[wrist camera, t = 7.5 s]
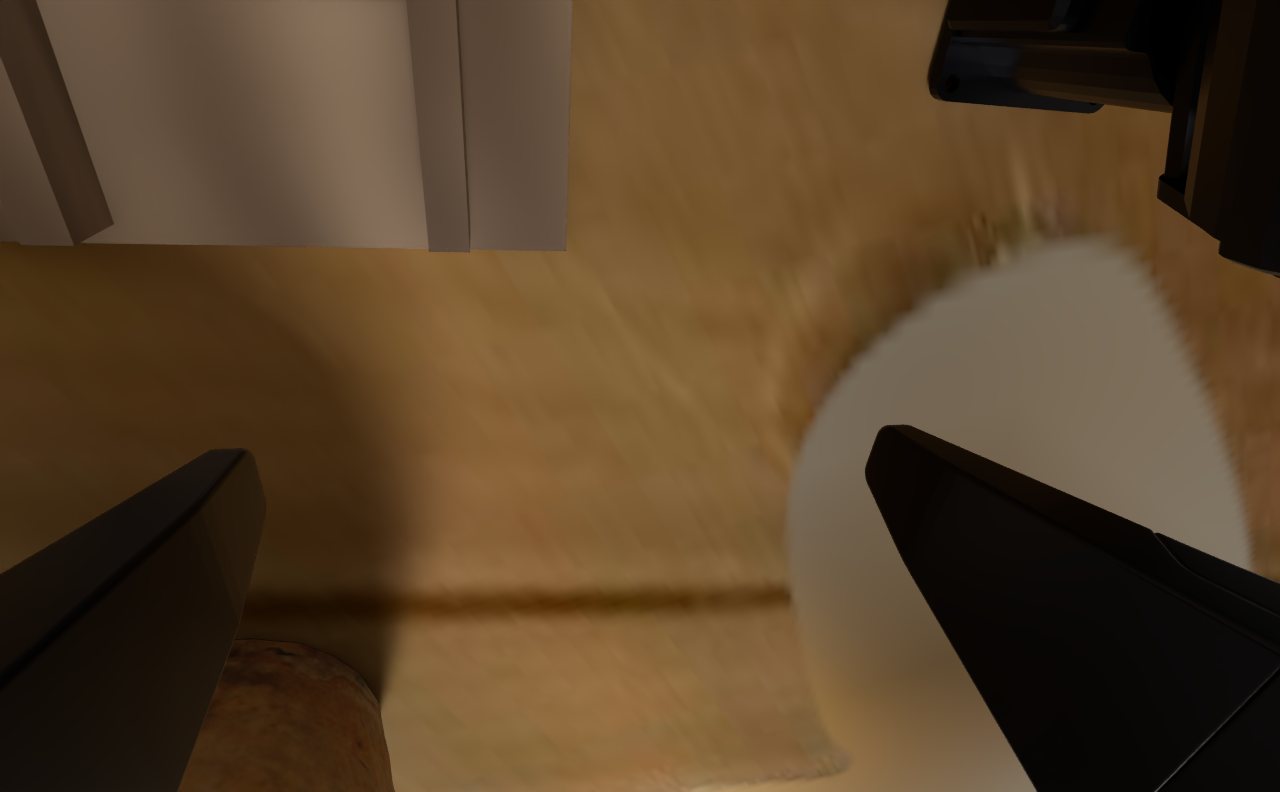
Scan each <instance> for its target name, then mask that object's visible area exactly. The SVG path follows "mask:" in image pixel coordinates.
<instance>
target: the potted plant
mask: <svg viewBox="0 0 1280 792" xmlns="http://www.w3.org/2000/svg"><path fill="white" fill-rule="evenodd" d="M178 792H395V790H394V787H393V782H392V774H391V766H390V758H389V753H388V749H387V744H386V740H385V736H384V730H383V725H382V719H381V713H380V708H379V703H378V701H377V700H376V698H375V696H374V695H373V693H372V692H371V690H370V689H369V687H368V686H367V684H366V683H365V681H364V680H363V678H362V677H361V675H360V674H359V673H358V672H356V671H354V670H353V669H351V668H350V667H348V666H347V665H345V664H344V663H342V662H341V661H339V660H337V659H336V658H334V657H333V656H331V655H330V654H327V653H324V652H321V651H318V650H316V649H313V648H310V647H307V646H304V645H302V644H298V643H288V642H277V641H267V640H257V639H244V640H234V642H233V645H232V648H231V650H230V653H229V656H228V658H227V661H226V664H225V666H224V669H223V672H222V674H221V677H220V680H219V682H218V685H217V688H216V690H215V693H214V696H213V698H212V701H211V704H210V706H209V709H208V712H207V715H206V717H205V720H204V723H203V725H202V728H201V731H200V733H199V736H198V739H197V741H196V744H195V747H194V749H193V752H192V755H191V757H190V760H189V763H188V765H187V768H186V771H185V773H184V776H183V779H182V781H181V784H180V787H179V789H178Z"/></svg>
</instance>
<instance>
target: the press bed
mask: <svg viewBox="0 0 1280 792" xmlns="http://www.w3.org/2000/svg"><path fill="white" fill-rule="evenodd" d="M571 31H572V0H0V242H19V243H20V245H39V246H75V245H77V244H79V243H110V244H170V245H230V246H291V247H351V248H411V249H429V252H470V249H472V250H532V251H566V230H567V190H568V150H569V110H570V70H571Z"/></svg>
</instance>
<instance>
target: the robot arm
mask: <svg viewBox="0 0 1280 792" xmlns="http://www.w3.org/2000/svg"><path fill="white" fill-rule="evenodd" d="M947 20H948V21H947V25H946V28H945V31H944V35H943V38H942V42H941V45H940V49H939V52H938V55H937V59H936V62H935V66H934V69H933V73H932V76H931V79H930V85H929V90H930V94H931V95H932V97H933V98H935V99H937V100H942V101H949V102H961V103H972V104H984V105H996V106H1007V107H1019V108H1031V109H1042V110H1054V111H1066V112H1078V113H1094V112H1096V111H1098V110H1099V109H1100V108H1101V107H1102V106H1103V105H1104V104H1106V105H1114V106H1121V107H1129V108H1136V109H1144V110H1151V111H1159V112H1167V113H1172V117H1171V125H1170V133H1169V141H1168V149H1167V157H1166V165H1165V173H1164V174H1162V175H1161V176H1160V177H1159V182H1158V191H1157V198H1158V199H1159V200H1161V201H1162V202H1164V203H1165V204H1167V205H1168V206H1169V207H1171V208H1172V209H1174V210H1175V211H1177V212H1178V213H1180V214H1181V215H1183V216H1184V217H1185V218H1187V219H1188V220H1190V221H1191V222H1193V223H1194V224H1196V225H1197V226H1199V227H1200V228H1202V229H1203V230H1204V231H1206V232H1207V233H1208V234H1209V235H1211V236H1212V237H1213V238H1215V239H1218V240H1219V241H1220V243H1219V248H1218V252H1219V254H1220V255H1221V256H1223V257H1224V258H1226V259H1228V260H1229V261H1231V262H1233V263H1236V264H1239V265H1242V266H1245V267H1248V268H1251V269H1254V270H1257V271H1260V272H1263V273H1266V274H1271V275H1274V276H1276V277H1278V278H1280V0H952V3H951V6H950V10H949V13H948V17H947ZM949 76H951V78H952V79H951V84H950V86H949V88H947V89H946V90H945V88H944V87H945V81H946V80H947V78H948V77H949ZM865 477H866V481H867V484H868V486H869V488H870V490H871V493H872V495H873V497H874V499H875V501H876V503H877V506H878V508H879V510H880V512H881V514H882V517H883V519H884V521H885V523H886V525H887V528H888V530H889V532H890V534H891V536H892V539H893V541H894V543H895V545H896V547H897V549H898V551H899V554H900V555H901V557H902V560H903V562H904V564H905V565H906V567H907V569H908V571H909V572H910V574H911V576H912V578H913V579H914V581H915V583H916V585H917V586H918V588H919V590H920V592H921V593H922V595H923V597H924V598H925V600H926V602H927V604H928V605H929V607H930V609H931V611H932V612H933V614H934V616H935V617H936V619H937V621H938V622H939V624H940V626H941V628H942V629H943V631H944V633H945V635H946V636H947V638H948V640H949V641H950V643H951V645H952V647H953V648H954V650H955V652H956V653H957V655H958V657H959V659H960V660H961V662H962V664H963V665H964V667H965V669H966V671H967V672H968V674H969V676H970V678H971V679H972V681H973V683H974V684H975V686H976V688H977V690H978V691H979V693H980V695H981V696H982V698H983V700H984V702H985V703H986V705H987V707H988V708H989V710H990V712H991V714H992V715H993V717H994V719H995V721H996V722H997V724H998V726H999V727H1000V729H1001V731H1002V732H1003V734H1004V736H1005V738H1006V739H1007V741H1008V743H1009V745H1010V746H1011V748H1012V750H1013V752H1014V753H1015V755H1016V757H1017V758H1018V760H1019V762H1020V763H1021V765H1022V767H1023V769H1024V770H1025V772H1026V774H1027V775H1028V777H1029V779H1030V781H1031V782H1032V784H1033V786H1034V788H1035V789H1036V791H1037V792H1280V583H1278V582H1276V581H1273V580H1271V579H1268V578H1266V577H1263V576H1261V575H1258V574H1256V573H1253V572H1251V571H1248V570H1246V569H1243V568H1241V567H1238V566H1235V565H1233V564H1231V563H1229V562H1226V561H1224V560H1221V559H1219V558H1217V557H1214V556H1212V555H1210V554H1207V553H1205V552H1202V551H1200V550H1198V549H1195V548H1193V547H1190V546H1188V545H1186V544H1183V543H1181V542H1179V541H1177V540H1174V539H1172V538H1170V537H1167V536H1165V535H1163V534H1160V533H1154V532H1153V531H1152V530H1150V529H1148V528H1146V527H1144V526H1142V525H1139V524H1137V523H1134V522H1132V521H1130V520H1128V519H1125V518H1123V517H1121V516H1118V515H1116V514H1114V513H1112V512H1109V511H1107V510H1104V509H1102V508H1100V507H1098V506H1095V505H1093V504H1091V503H1088V502H1086V501H1084V500H1081V499H1079V498H1077V497H1074V496H1072V495H1070V494H1068V493H1065V492H1063V491H1061V490H1058V489H1056V488H1053V487H1051V486H1049V485H1047V484H1044V483H1042V482H1040V481H1037V480H1035V479H1033V478H1031V477H1028V476H1026V475H1024V474H1021V473H1019V472H1017V471H1014V470H1012V469H1010V468H1007V467H1005V466H1003V465H1000V464H998V463H996V462H993V461H991V460H989V459H987V458H984V457H982V456H980V455H977V454H975V453H972V452H970V451H968V450H966V449H963V448H961V447H959V446H956V445H954V444H952V443H949V442H947V441H945V440H943V439H940V438H938V437H936V436H933V435H931V434H928V433H926V432H924V431H921V430H919V429H917V428H915V427H912V426H909V425H886V426H884V427H882V428H881V429H880V430H879V432H878V434H877V436H876V439H875V442H874V444H873V447H872V450H871V453H870V455H869V458H868V461H867V464H866V467H865ZM265 515H266V500H265V496H264V492H263V488H262V484H261V481H260V477H259V473H258V469H257V465H256V462H255V458H254V456H253V454H252V453H251V451H249V450H248V449H245V448H236V449H214V450H210V451H208V452H206V453H204V454H203V455H201V456H199V457H198V458H196V459H194V460H193V461H191V462H189V463H188V464H186V465H184V466H183V467H181V468H179V469H177V470H176V471H174V472H172V473H171V474H169V475H167V476H166V477H164V478H162V479H161V480H159V481H157V482H156V483H154V484H152V485H150V486H149V487H147V488H145V489H144V490H142V491H140V492H139V493H137V494H135V495H134V496H132V497H130V498H128V499H127V500H125V501H123V502H122V503H120V504H118V505H117V506H115V507H113V508H112V509H110V510H108V511H107V512H105V513H103V514H101V515H100V516H98V517H96V518H95V519H93V520H91V521H90V522H88V523H86V524H85V525H83V526H81V527H79V528H78V529H76V530H74V531H73V532H71V533H69V534H68V535H66V536H64V537H63V538H61V539H59V540H57V541H56V542H54V543H52V544H51V545H49V546H47V547H46V548H44V549H42V550H41V551H39V552H37V553H35V554H34V555H32V556H30V557H29V558H27V559H25V560H24V561H22V562H20V563H19V564H17V565H15V566H13V567H12V568H10V569H8V570H7V571H5V572H3V573H2V574H0V792H178V789H179V787H180V784H181V781H182V779H183V776H184V773H185V771H186V768H187V765H188V763H189V760H190V757H191V755H192V752H193V749H194V747H195V744H196V741H197V739H198V736H199V733H200V731H201V728H202V725H203V723H204V720H205V717H206V715H207V712H208V709H209V706H210V704H211V701H212V698H213V696H214V693H215V690H216V688H217V685H218V682H219V680H220V677H221V674H222V672H223V669H224V666H225V664H226V661H227V658H228V656H229V653H230V650H231V648H232V645H233V642H234V639H235V636H236V633H237V630H238V627H239V624H240V621H241V617H242V613H243V609H244V605H245V601H246V597H247V593H248V588H249V584H250V580H251V576H252V571H253V567H254V563H255V559H256V554H257V550H258V546H259V542H260V538H261V533H262V529H263V525H264V521H265Z"/></svg>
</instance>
